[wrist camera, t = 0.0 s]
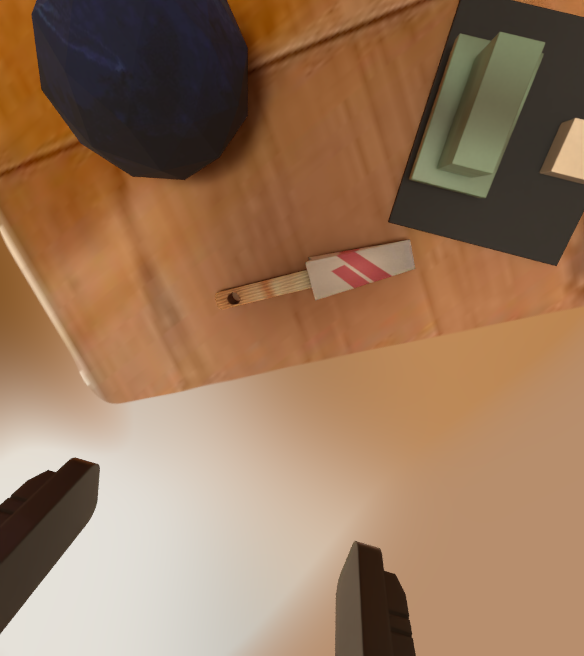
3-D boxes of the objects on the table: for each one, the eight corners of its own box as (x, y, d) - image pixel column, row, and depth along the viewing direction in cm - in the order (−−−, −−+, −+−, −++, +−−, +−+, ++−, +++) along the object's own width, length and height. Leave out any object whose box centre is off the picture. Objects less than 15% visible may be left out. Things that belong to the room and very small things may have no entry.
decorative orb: (29, -52, 27) (-87, 19, 19) (221, -121, 25) (186, -74, 16) (136, 135, 39) (94, 232, 30) (274, 102, 36) (271, 197, 28)
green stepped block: (449, 46, 30) (481, 1, 23) (527, 65, 30) (582, 25, 23) (405, 180, 34) (422, 175, 27) (475, 198, 33) (509, 197, 27)
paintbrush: (418, 277, 34) (219, 321, 38) (414, 271, 36) (228, 313, 41) (411, 235, 33) (207, 285, 37) (407, 232, 35) (217, 279, 40)
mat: (462, -8, 29) (464, -12, 29) (664, 40, 29) (670, 37, 28) (388, 221, 35) (389, 222, 35) (553, 265, 35) (556, 266, 34)
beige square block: (561, 122, 31) (575, 117, 29) (609, 134, 31) (626, 129, 29) (538, 173, 32) (551, 171, 30) (584, 184, 32) (599, 183, 30)
